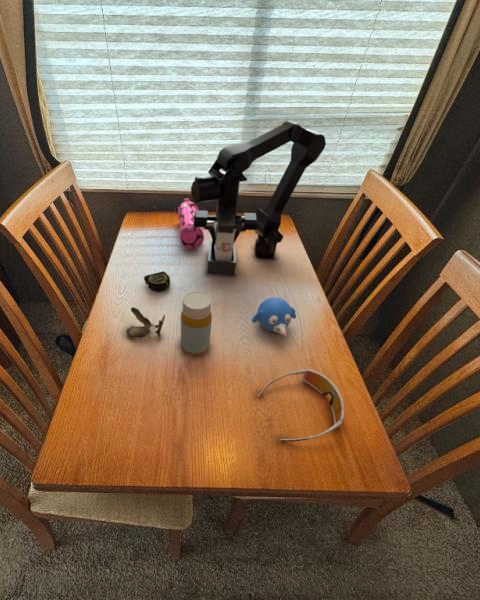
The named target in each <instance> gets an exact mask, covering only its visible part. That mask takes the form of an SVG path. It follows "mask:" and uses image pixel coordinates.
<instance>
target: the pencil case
mask: <svg viewBox="0 0 480 600" xmlns="http://www.w3.org/2000/svg"><path fill="white" fill-rule="evenodd" d="M182 200H183V202H182V203H181V204H180V205H179V206H178V207H177V206H174V207H173V208H174V209H173V213H177V218H178V221H179V222H178V224H179V240H180V244H181V245H182V247H183V248H185V249H187V250H195V249H197V248H200V247H201V246H202V245H203V243H204V241H205V233H204V231H203V229H202V227H195V226H194V215H195V212H196V211H197V210H200V209H199V207H198V205H197V203H195V202H194V201H193V202H192V201H190V199H189V198H183V199H182Z"/></svg>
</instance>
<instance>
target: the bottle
mask: <svg viewBox="0 0 480 600" xmlns="http://www.w3.org/2000/svg"><path fill="white" fill-rule="evenodd" d="M211 309H212V298H211V296H210V295H209V294H208V293H207V292H205V291H201V290H192V291H189V292H187V293H186V294H184V296H183V298H182V311H181V312H180V346H181V349H182V350H183V352H185V353H186V354H189V355H192V356H199V355H203V354H204V353H206V352H207V351H208V350H209V348H210V344H211V333H212V321H213V320H212V318H213V314H212V311H211Z"/></svg>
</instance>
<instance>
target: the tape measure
mask: <svg viewBox="0 0 480 600" xmlns="http://www.w3.org/2000/svg"><path fill="white" fill-rule="evenodd" d="M143 281H144V282H145V285H146V286H147V287H148V289H149V290H150V291H151V292H153V293H162V292H165V291H167V290H169V288H170V287H171V277H170V275H169V274H167V272H166V271H158V272H154V273H150V274H147V275H146V274H145V275H144V277H143Z"/></svg>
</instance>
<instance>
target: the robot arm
mask: <svg viewBox="0 0 480 600" xmlns="http://www.w3.org/2000/svg"><path fill="white" fill-rule="evenodd" d="M290 142H292V146H291V149H290V160H289V163H288V165H287V167H286V169H285V171H284V172H283V175H282V177H281V178H280V180H279V182H278V184H277V186H276V188H275V189H274V192H273V194H272V196H271V198H270V199H269V202H268V203H267V205H266V206H265V207H263V208H262V209H261V208H258V209H257V210H256V212H243V215H241V214H238V213H237V207H238V199H239V192H240V183H241V182H247V181H248V178H247V176H245V174H244V172H245V171H247V170H248V169H249V168H250V167H251V165H252V164H253V162H255V161H256V160H258V159H259V158H261V157H263V156H265V155H267V154H269V153H270V152H272V151H275V150H276V149H279V148H281V147H282V146H285V145H286V144H288V143H290ZM326 144H327V142H326V137H325V135H324V134H322V133H319V132H316V131H313V130H311V129H308V128H304V127H302V126H301V125H300V124H299V123H297V122H295V121H291V120H286V121H284V122H283V123H282V124H280V125H278V126H277V127H275V128H273V129H271V130H269V131H266V132H265V133H262V135H259V136H257V137H255V138H253V139H251V140H249V141H248V142H244V143H237V144H232V145H229V146H226V147H223V148H222V149H220V150H219V151H218V155H217V158H216V159H215V161H214V162H213V164H212V165H211V167H210V168H209V170H208V172H207V173H208V174H207V175H196V176H194V180H193V181H192V184H191V186H190V194H191V198H192V200H193V203H195V204H201V203H207V202H213V201H216V213H215V214H214V215H213V214H212V215H210V214H209V210H202V209H201V210H200V209H199V210H197V211H196V212H195V215H194V226H195V227H201V228H203V229H204V230H207V231H208V232H209V234H210V237H211V240H213V244H214V245H215V224H216V222H218V223H217V231H218V232H219V233H233V232H234V229H235V235H234V243H235V244H236V240H237V239H238V237H239V236H240V235H241V234H242V233H243V232H247V231H254V233H255V234H257V238H255V241H254V246H253V252H254V254H255V258H259V259H260V258H261V259H276V251H277V250H276V249H277V245H278V244H280V243H281V242H282V241H283V239H284V235H283V234H282V233H281V232H280V231H279V229H280V226H281V224H282V213H283V211H284V209H285V207H286V205H287V204H288V201H289V200H290V198H291V196H292V194H293V193H294V191H295V189H296V187H297V185H298V184H299V181H300V180H301V178H302V176H303V174H304V173H305V171H306V169H307V168H309V166H311V165H312V164H313V163H315V162H316V161H317V160H318V158H319V157H320V156H321V154H322V153H323V151H325V147H326ZM221 170H222V171H224V172H225V173H223V172H221ZM233 245H234V244H233Z"/></svg>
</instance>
